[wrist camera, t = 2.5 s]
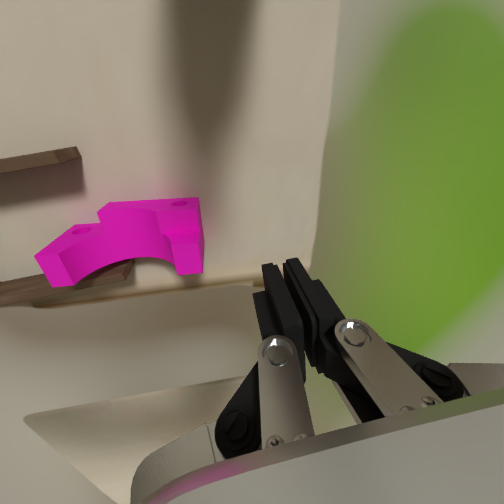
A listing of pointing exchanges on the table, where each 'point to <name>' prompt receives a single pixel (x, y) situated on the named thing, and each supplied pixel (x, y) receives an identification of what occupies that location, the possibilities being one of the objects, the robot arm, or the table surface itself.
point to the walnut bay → (39, 283)
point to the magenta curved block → (128, 239)
